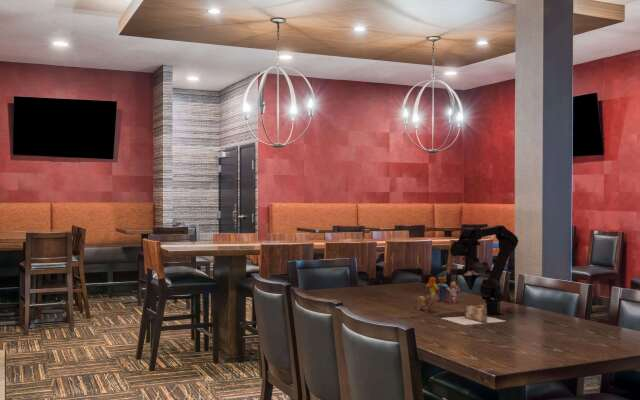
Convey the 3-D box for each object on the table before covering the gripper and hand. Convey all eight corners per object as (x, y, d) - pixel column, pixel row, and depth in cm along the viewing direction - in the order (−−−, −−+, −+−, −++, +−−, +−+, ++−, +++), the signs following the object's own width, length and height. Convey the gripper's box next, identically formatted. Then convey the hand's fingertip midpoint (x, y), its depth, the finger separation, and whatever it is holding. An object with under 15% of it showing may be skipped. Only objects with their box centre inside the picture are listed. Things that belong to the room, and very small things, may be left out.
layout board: (481, 315, 316) (481, 314, 316) (505, 321, 301) (505, 320, 301) (440, 318, 307) (440, 318, 307) (464, 325, 291) (464, 324, 291)
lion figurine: (439, 312, 324) (440, 293, 324) (431, 313, 321) (431, 294, 321) (417, 308, 336) (417, 289, 336) (409, 309, 333) (409, 290, 333)
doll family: (461, 303, 351) (461, 277, 351) (447, 305, 345) (447, 279, 345) (432, 298, 368) (432, 273, 368) (418, 300, 363) (418, 275, 363)
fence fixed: (483, 316, 313) (483, 302, 313) (486, 317, 311) (486, 303, 311) (467, 318, 309) (467, 303, 309) (470, 318, 307) (470, 304, 307)
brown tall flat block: (463, 317, 308) (464, 304, 308) (467, 316, 309) (467, 304, 309) (483, 322, 297) (483, 309, 297) (486, 321, 297) (486, 308, 297)
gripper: (464, 257, 302) (464, 293, 302) (498, 256, 310) (498, 291, 310) (449, 255, 312) (449, 290, 312) (483, 254, 320) (483, 288, 320)
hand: (470, 290), depth 313 cm, fingers closed
